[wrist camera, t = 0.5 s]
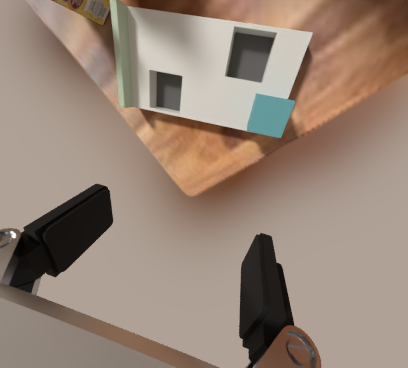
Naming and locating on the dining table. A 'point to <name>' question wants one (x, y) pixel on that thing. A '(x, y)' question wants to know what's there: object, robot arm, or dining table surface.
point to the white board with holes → (201, 63)
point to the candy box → (88, 8)
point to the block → (269, 115)
